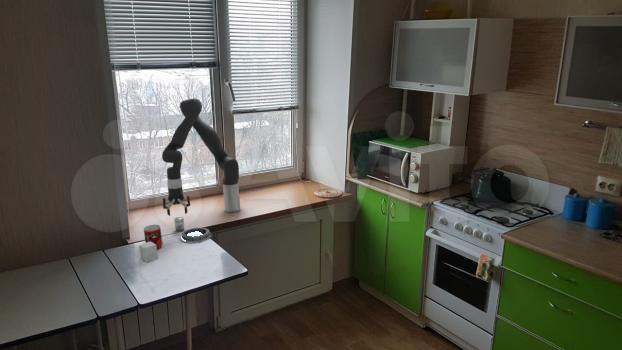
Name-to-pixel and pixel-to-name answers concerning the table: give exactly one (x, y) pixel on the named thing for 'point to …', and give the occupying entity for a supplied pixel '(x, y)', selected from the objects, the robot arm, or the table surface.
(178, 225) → the piston
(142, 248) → the product box
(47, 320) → the table surface
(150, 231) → the canned food
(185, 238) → the ring
